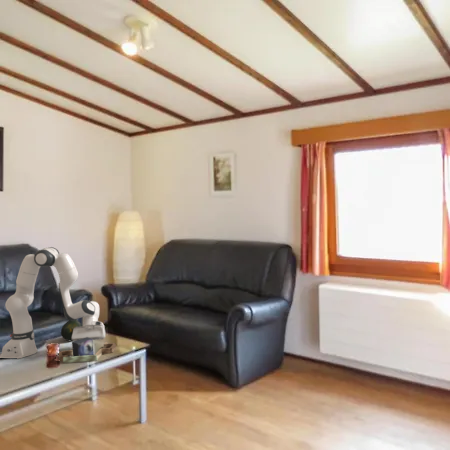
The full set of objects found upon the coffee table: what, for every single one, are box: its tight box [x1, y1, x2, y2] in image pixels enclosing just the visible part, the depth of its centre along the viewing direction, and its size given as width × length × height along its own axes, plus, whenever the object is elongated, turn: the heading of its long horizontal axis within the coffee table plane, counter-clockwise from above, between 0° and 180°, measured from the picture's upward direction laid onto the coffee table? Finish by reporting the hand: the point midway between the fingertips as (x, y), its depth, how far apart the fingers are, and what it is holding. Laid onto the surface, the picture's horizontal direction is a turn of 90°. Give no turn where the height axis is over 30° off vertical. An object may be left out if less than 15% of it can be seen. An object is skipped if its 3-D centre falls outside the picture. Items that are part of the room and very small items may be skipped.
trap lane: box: [58, 341, 117, 364], centre depth 276 cm, size 32×25×3 cm
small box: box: [71, 337, 95, 357], centre depth 271 cm, size 11×6×10 cm, turn 139°
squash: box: [60, 319, 83, 341], centre depth 310 cm, size 14×15×15 cm
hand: (86, 346), depth 278 cm, fingers closed
